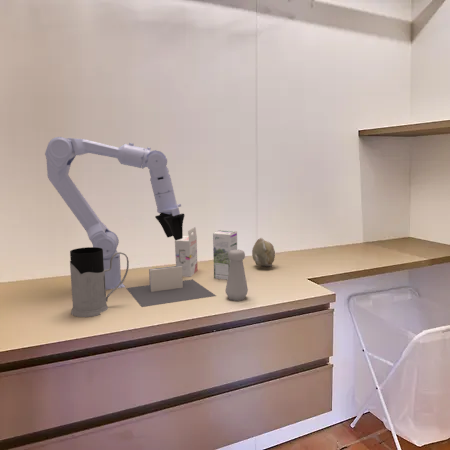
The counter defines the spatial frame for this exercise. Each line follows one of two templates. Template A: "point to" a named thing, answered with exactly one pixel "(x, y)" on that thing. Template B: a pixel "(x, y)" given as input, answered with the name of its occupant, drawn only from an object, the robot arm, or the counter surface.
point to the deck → (165, 278)
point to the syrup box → (223, 252)
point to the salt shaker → (236, 276)
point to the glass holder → (89, 281)
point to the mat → (169, 294)
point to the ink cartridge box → (187, 253)
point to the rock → (263, 253)
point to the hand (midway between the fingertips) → (174, 237)
